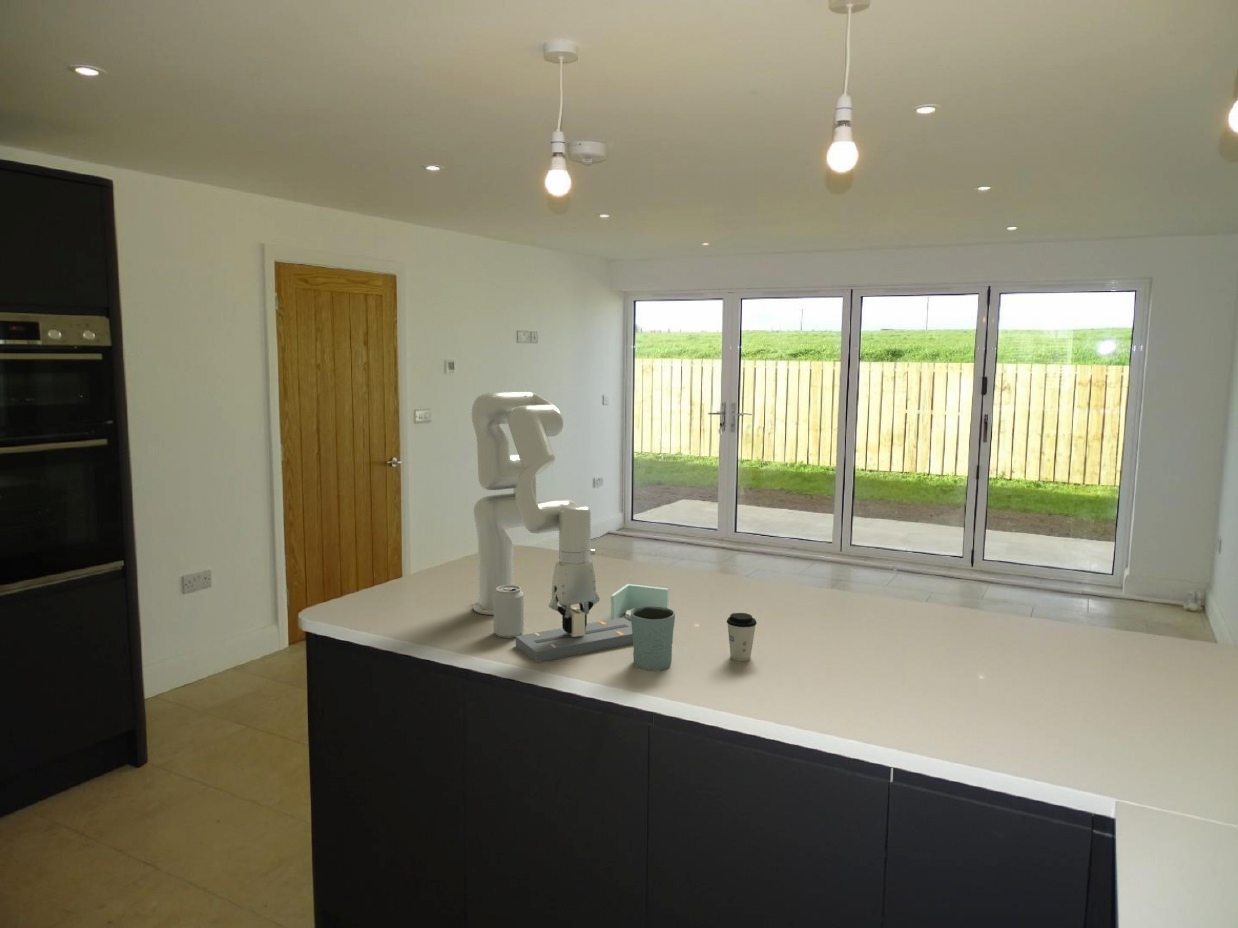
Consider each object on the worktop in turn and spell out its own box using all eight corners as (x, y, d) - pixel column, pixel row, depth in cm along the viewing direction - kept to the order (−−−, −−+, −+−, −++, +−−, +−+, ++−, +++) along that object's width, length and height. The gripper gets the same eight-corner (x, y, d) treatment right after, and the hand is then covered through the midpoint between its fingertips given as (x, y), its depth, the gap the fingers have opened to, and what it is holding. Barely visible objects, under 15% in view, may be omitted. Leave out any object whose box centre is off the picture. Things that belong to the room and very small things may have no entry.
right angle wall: (610, 622, 218) (611, 595, 217) (627, 610, 229) (627, 583, 228) (653, 628, 213) (654, 600, 212) (668, 615, 224) (668, 588, 223)
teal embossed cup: (643, 674, 181) (644, 621, 179) (622, 659, 190) (622, 609, 188) (682, 666, 186) (683, 615, 184) (660, 652, 195) (660, 603, 193)
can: (518, 640, 202) (518, 592, 200) (489, 637, 204) (488, 590, 202) (527, 630, 209) (527, 584, 208) (499, 628, 211) (499, 582, 209)
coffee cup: (758, 654, 194) (759, 613, 193) (752, 664, 187) (754, 622, 186) (728, 650, 196) (729, 609, 195) (722, 660, 190) (723, 618, 188)
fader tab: (564, 630, 200) (564, 608, 199) (575, 628, 201) (575, 606, 201) (573, 636, 196) (573, 614, 195) (584, 634, 197) (584, 612, 196)
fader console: (515, 646, 198) (515, 635, 197) (623, 626, 213) (623, 616, 212) (536, 662, 187) (536, 651, 187) (647, 640, 202) (647, 630, 202)
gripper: (597, 549, 203) (597, 621, 206) (536, 557, 195) (537, 631, 198) (612, 556, 197) (611, 630, 199) (550, 564, 189) (550, 641, 191)
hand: (574, 630), depth 199 cm, fingers closed on fader tab, 3 cm apart
